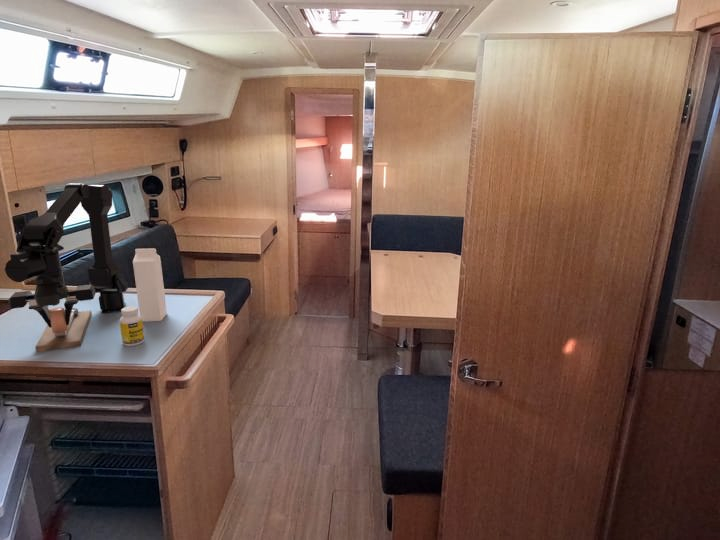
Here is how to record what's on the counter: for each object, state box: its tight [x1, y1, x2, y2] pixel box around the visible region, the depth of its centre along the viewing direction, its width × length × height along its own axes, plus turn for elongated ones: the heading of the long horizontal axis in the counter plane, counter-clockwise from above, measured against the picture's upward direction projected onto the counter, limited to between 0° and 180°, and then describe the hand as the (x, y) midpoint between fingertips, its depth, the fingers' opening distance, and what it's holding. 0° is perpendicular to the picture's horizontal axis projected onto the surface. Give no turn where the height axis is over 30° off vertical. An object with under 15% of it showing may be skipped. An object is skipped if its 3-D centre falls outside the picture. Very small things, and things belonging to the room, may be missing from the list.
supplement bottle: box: [119, 305, 145, 347], centre depth 124 cm, size 5×5×10 cm
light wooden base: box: [35, 309, 93, 353], centre depth 131 cm, size 10×24×2 cm, turn 23°
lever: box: [48, 306, 79, 337], centre depth 131 cm, size 4×20×7 cm, turn 23°
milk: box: [132, 247, 168, 323], centre depth 139 cm, size 6×6×22 cm
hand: (59, 325), depth 124 cm, fingers closed on lever, 4 cm apart
